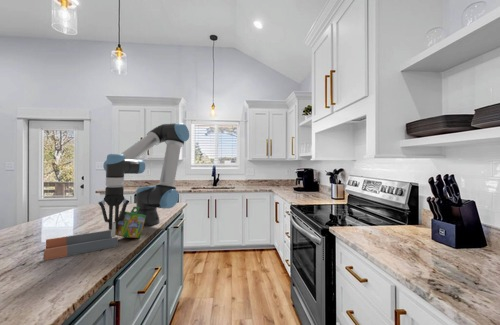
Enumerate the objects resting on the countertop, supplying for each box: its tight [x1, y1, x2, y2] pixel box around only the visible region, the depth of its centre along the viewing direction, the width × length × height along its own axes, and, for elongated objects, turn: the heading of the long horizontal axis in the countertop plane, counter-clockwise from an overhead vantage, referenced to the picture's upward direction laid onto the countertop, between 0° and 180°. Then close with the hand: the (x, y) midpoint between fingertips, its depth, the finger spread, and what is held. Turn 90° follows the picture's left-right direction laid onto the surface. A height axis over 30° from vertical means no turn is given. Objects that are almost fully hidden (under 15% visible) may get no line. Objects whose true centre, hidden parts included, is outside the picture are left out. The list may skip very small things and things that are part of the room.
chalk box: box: [115, 206, 146, 239], centre depth 118 cm, size 9×9×15 cm
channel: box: [43, 229, 119, 261], centre depth 105 cm, size 25×16×4 cm, turn 129°
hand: (113, 236), depth 112 cm, fingers closed
